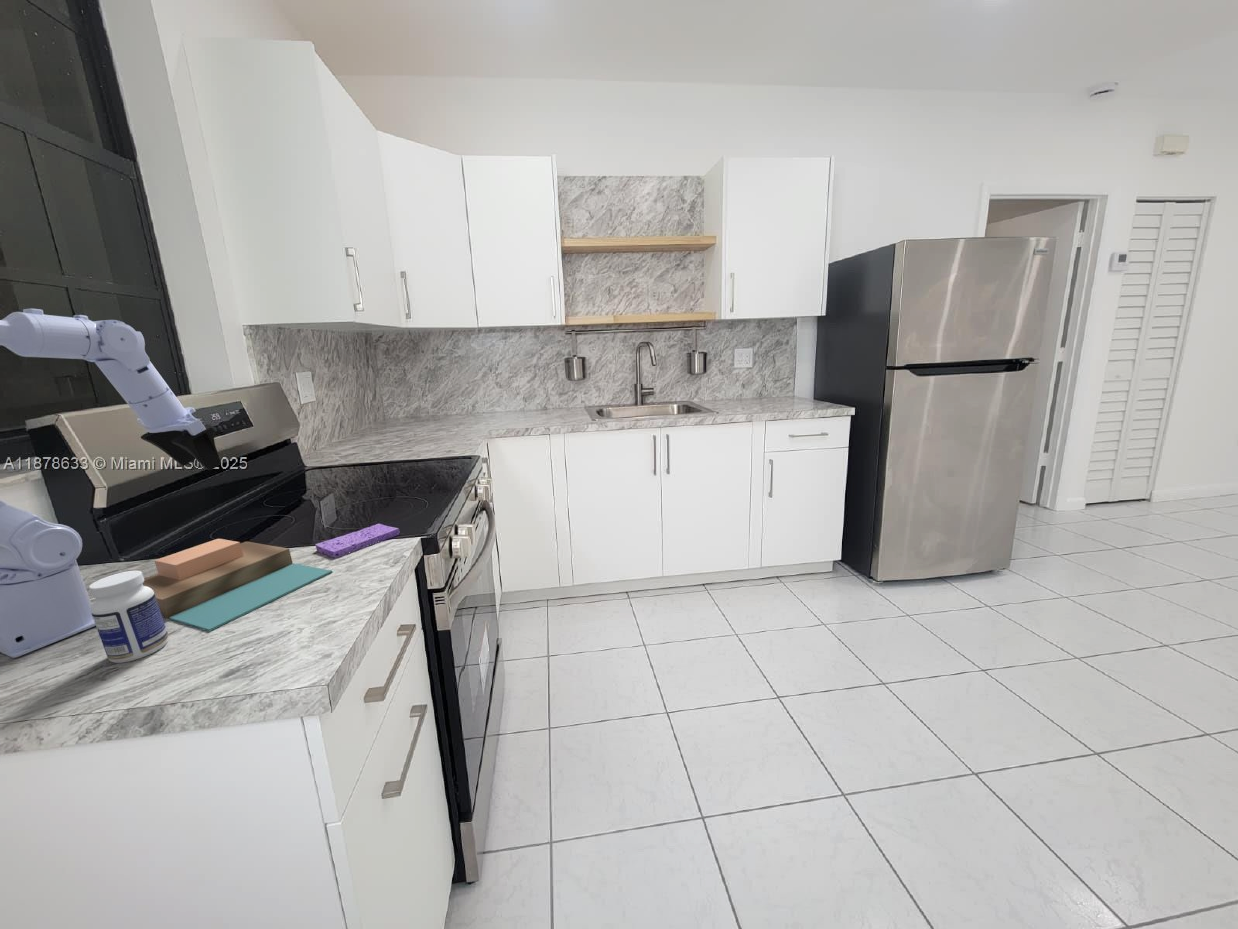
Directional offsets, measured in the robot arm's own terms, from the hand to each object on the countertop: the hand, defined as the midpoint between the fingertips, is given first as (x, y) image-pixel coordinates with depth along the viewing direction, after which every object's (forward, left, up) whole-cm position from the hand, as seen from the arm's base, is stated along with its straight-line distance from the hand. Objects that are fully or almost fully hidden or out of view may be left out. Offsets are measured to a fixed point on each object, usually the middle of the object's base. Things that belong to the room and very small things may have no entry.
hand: (201, 464), depth 87 cm
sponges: (+13, -19, -18) cm, 29 cm away
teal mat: (-7, -21, -18) cm, 28 cm away
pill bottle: (-22, -22, -18) cm, 36 cm away
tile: (-7, -8, -13) cm, 17 cm away
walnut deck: (-7, -10, -18) cm, 22 cm away
